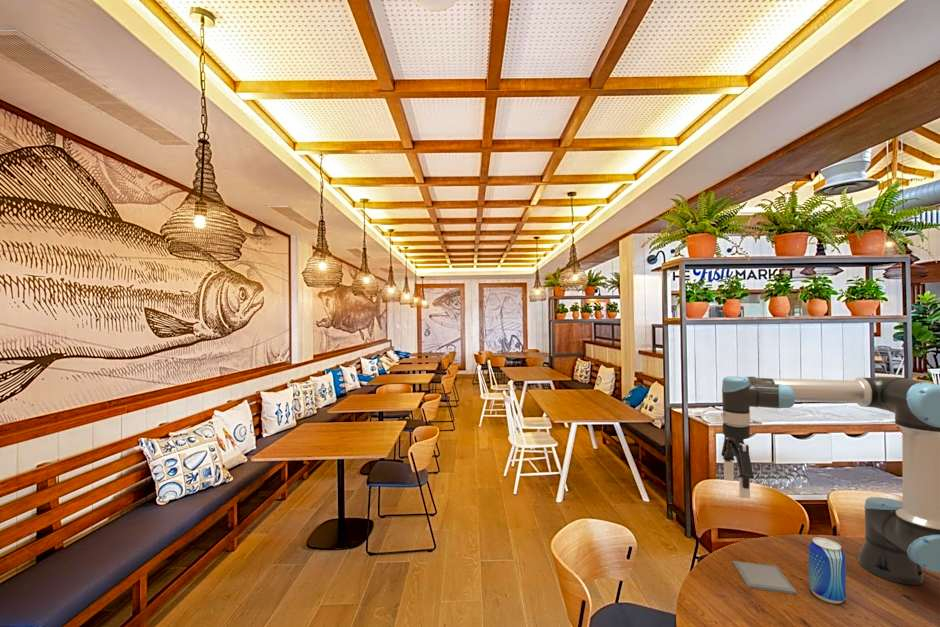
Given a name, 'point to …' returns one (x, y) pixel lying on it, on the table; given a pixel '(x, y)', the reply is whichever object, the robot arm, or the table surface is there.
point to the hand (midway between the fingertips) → (736, 488)
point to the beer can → (827, 570)
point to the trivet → (764, 577)
